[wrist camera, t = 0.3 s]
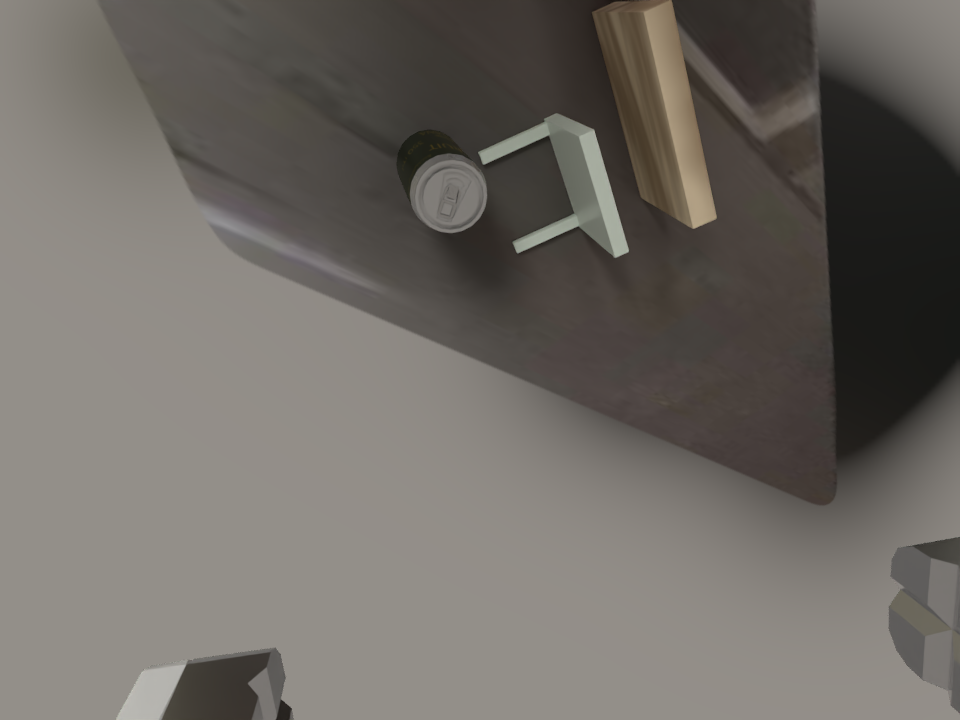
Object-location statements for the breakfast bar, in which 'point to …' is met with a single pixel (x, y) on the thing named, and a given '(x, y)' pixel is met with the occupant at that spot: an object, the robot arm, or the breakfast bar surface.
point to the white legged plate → (572, 183)
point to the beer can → (441, 182)
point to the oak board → (656, 107)
